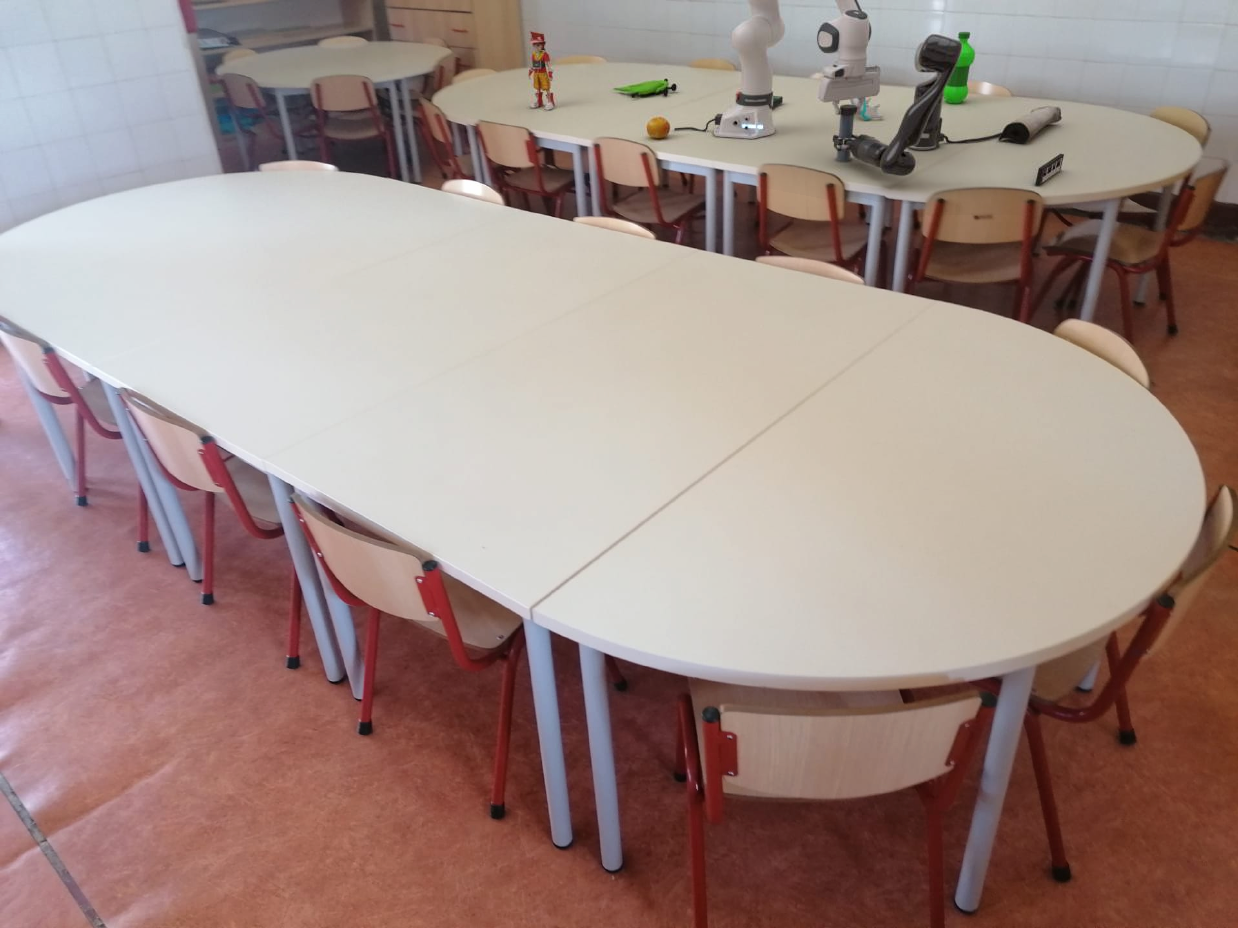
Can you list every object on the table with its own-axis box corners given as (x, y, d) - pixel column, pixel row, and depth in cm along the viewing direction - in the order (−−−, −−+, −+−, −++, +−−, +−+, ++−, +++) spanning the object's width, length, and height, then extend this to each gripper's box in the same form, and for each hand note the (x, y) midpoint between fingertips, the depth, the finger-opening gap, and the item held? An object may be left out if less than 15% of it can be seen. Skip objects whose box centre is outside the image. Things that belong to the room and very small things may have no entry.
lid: (836, 113, 293) (836, 106, 292) (849, 111, 295) (850, 103, 294) (845, 116, 290) (846, 109, 288) (858, 114, 291) (859, 106, 290)
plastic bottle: (973, 101, 354) (984, 32, 339) (955, 106, 349) (966, 36, 335) (952, 97, 361) (962, 29, 346) (934, 102, 356) (944, 33, 342)
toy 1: (525, 109, 381) (517, 32, 364) (534, 104, 388) (527, 28, 371) (550, 110, 377) (543, 32, 360) (559, 105, 384) (553, 28, 367)
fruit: (639, 130, 331) (651, 110, 328) (647, 132, 339) (658, 113, 336) (657, 142, 330) (669, 123, 327) (664, 145, 338) (676, 126, 335)
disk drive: (768, 112, 357) (782, 103, 367) (768, 105, 355) (783, 96, 365) (744, 110, 362) (759, 101, 372) (744, 103, 360) (759, 94, 370)
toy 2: (686, 85, 398) (631, 84, 414) (685, 72, 395) (629, 72, 411) (651, 104, 381) (596, 103, 397) (650, 92, 378) (594, 91, 394)
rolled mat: (1028, 111, 326) (1053, 93, 318) (1042, 132, 326) (1067, 115, 318) (994, 134, 309) (1019, 116, 300) (1008, 156, 309) (1034, 139, 301)
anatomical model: (845, 89, 345) (871, 82, 345) (847, 116, 351) (873, 109, 351) (856, 98, 333) (883, 91, 332) (859, 126, 339) (885, 119, 338)
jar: (833, 159, 302) (838, 107, 292) (844, 157, 303) (849, 105, 294) (841, 162, 298) (846, 110, 289) (852, 160, 300) (857, 108, 290)
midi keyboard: (1039, 185, 269) (1043, 168, 266) (1035, 184, 270) (1038, 168, 267) (1060, 170, 279) (1064, 154, 277) (1056, 169, 280) (1060, 153, 277)
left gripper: (876, 62, 289) (871, 107, 297) (818, 69, 285) (814, 115, 293) (886, 66, 284) (881, 111, 292) (827, 73, 280) (823, 119, 288)
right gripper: (889, 134, 285) (860, 122, 299) (849, 141, 282) (822, 128, 295) (886, 158, 289) (858, 145, 303) (847, 165, 286) (820, 151, 299)
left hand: (847, 113), depth 292 cm, fingers open, 5 cm apart
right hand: (840, 137), depth 299 cm, fingers closed on jar, 4 cm apart
